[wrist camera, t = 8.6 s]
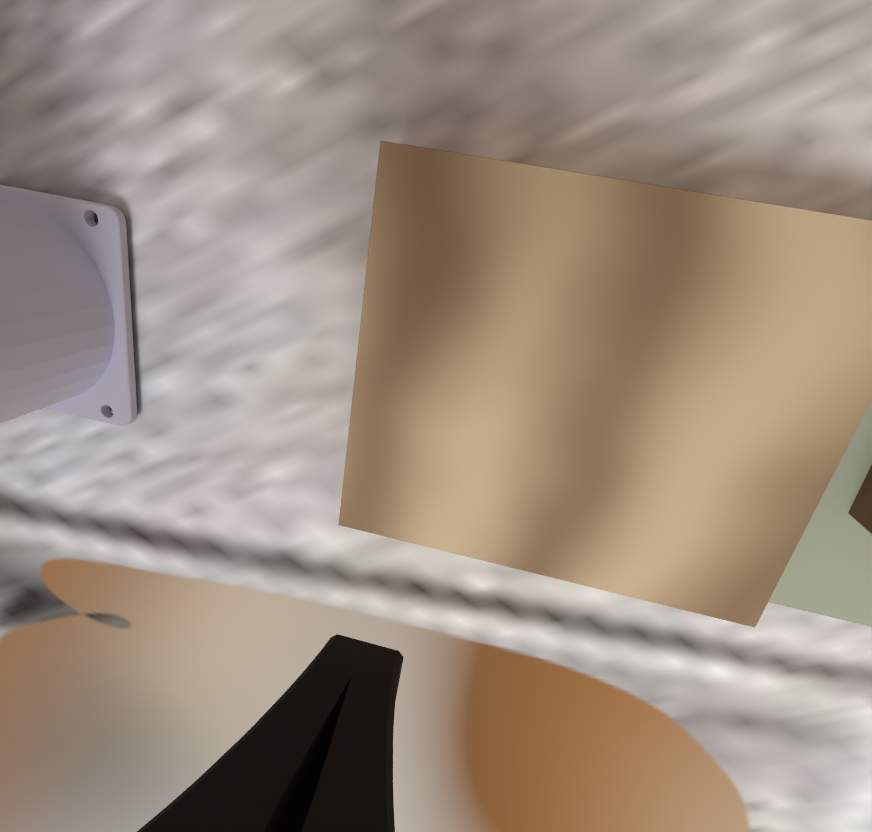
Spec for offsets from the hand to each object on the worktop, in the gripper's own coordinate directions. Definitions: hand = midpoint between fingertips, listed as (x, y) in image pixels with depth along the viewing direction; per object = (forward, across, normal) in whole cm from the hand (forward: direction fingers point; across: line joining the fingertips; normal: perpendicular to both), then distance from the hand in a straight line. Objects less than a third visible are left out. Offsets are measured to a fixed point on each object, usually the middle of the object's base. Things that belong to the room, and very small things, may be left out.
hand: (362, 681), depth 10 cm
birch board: (+9, -4, -4) cm, 11 cm away
